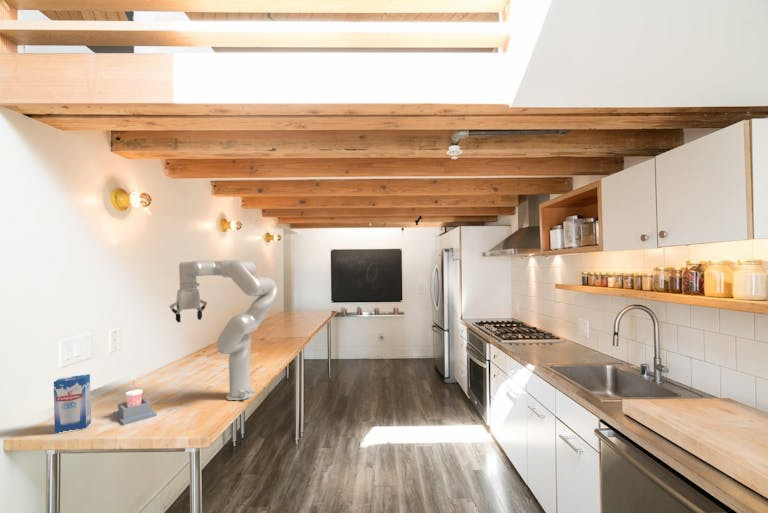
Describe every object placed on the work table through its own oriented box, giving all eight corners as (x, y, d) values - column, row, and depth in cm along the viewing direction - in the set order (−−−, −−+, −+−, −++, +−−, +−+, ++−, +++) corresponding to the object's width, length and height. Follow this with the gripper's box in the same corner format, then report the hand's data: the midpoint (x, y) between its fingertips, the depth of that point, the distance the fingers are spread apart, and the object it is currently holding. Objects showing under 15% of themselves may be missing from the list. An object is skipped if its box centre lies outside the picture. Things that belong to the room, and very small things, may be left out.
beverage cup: (132, 410, 165) (131, 377, 165) (146, 409, 164) (145, 377, 165) (122, 415, 159) (121, 382, 159) (136, 415, 158) (135, 381, 159)
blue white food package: (54, 434, 145) (53, 382, 146) (60, 428, 151) (59, 377, 151) (86, 428, 149) (85, 378, 150) (91, 422, 155) (90, 374, 155)
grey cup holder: (156, 415, 160) (156, 403, 160) (122, 425, 151) (122, 412, 151) (145, 405, 172) (144, 394, 172) (113, 414, 163) (112, 402, 164)
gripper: (203, 285, 197) (204, 318, 196) (166, 287, 184) (167, 322, 184) (208, 285, 191) (210, 319, 191) (171, 287, 179) (172, 323, 178)
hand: (189, 320), depth 187 cm, fingers open, 9 cm apart
